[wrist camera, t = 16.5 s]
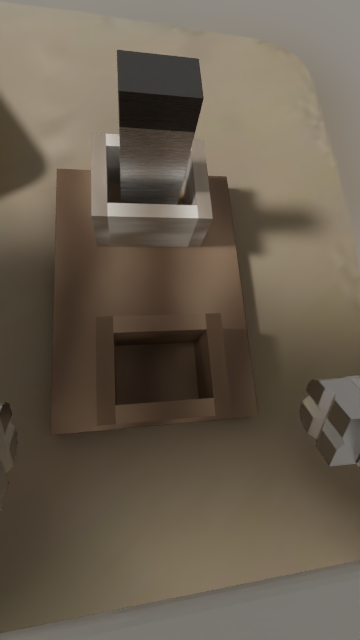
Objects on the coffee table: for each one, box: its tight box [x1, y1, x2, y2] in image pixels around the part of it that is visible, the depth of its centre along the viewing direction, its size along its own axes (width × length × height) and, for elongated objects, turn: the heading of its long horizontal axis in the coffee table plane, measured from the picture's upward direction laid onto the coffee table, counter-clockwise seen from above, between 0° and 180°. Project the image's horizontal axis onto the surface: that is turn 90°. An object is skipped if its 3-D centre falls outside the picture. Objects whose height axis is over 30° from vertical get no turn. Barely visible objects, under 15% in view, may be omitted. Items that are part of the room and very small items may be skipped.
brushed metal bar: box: [117, 50, 203, 205], centre depth 21 cm, size 4×2×11 cm, turn 95°
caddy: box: [50, 133, 258, 435], centre depth 23 cm, size 14×20×6 cm
